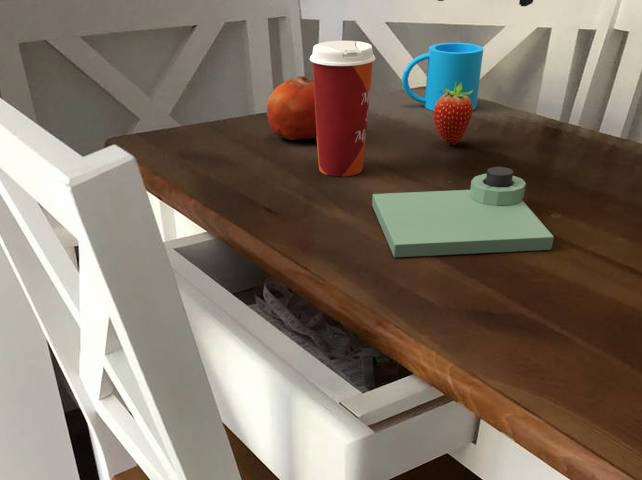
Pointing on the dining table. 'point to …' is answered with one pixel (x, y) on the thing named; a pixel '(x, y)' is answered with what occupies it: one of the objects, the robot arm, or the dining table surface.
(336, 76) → the paper cup
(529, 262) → the dining table surface
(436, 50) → the mug
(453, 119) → the fruit
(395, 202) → the scale
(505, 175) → the button
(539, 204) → the dining table surface
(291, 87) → the tomato
